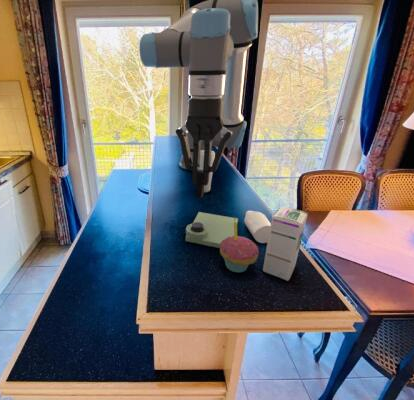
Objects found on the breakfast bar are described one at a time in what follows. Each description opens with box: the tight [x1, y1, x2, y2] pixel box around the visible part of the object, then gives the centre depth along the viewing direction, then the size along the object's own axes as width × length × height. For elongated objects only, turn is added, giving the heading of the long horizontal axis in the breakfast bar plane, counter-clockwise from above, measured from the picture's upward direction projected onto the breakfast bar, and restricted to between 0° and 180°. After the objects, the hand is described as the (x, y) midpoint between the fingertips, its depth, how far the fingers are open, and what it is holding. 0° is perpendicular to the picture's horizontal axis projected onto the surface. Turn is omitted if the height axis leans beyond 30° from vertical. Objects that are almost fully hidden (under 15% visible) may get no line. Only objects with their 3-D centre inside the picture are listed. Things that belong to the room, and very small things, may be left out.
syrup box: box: [262, 205, 308, 282], centre depth 57 cm, size 6×6×14 cm
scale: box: [184, 211, 239, 249], centre depth 74 cm, size 15×12×3 cm
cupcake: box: [219, 217, 259, 273], centre depth 59 cm, size 9×8×12 cm
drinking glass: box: [199, 150, 216, 193], centre depth 98 cm, size 7×7×15 cm
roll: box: [243, 210, 271, 244], centre depth 74 cm, size 6×12×6 cm, turn 2°
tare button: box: [191, 222, 203, 232], centre depth 71 cm, size 3×3×2 cm
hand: (199, 195), depth 67 cm, fingers closed
